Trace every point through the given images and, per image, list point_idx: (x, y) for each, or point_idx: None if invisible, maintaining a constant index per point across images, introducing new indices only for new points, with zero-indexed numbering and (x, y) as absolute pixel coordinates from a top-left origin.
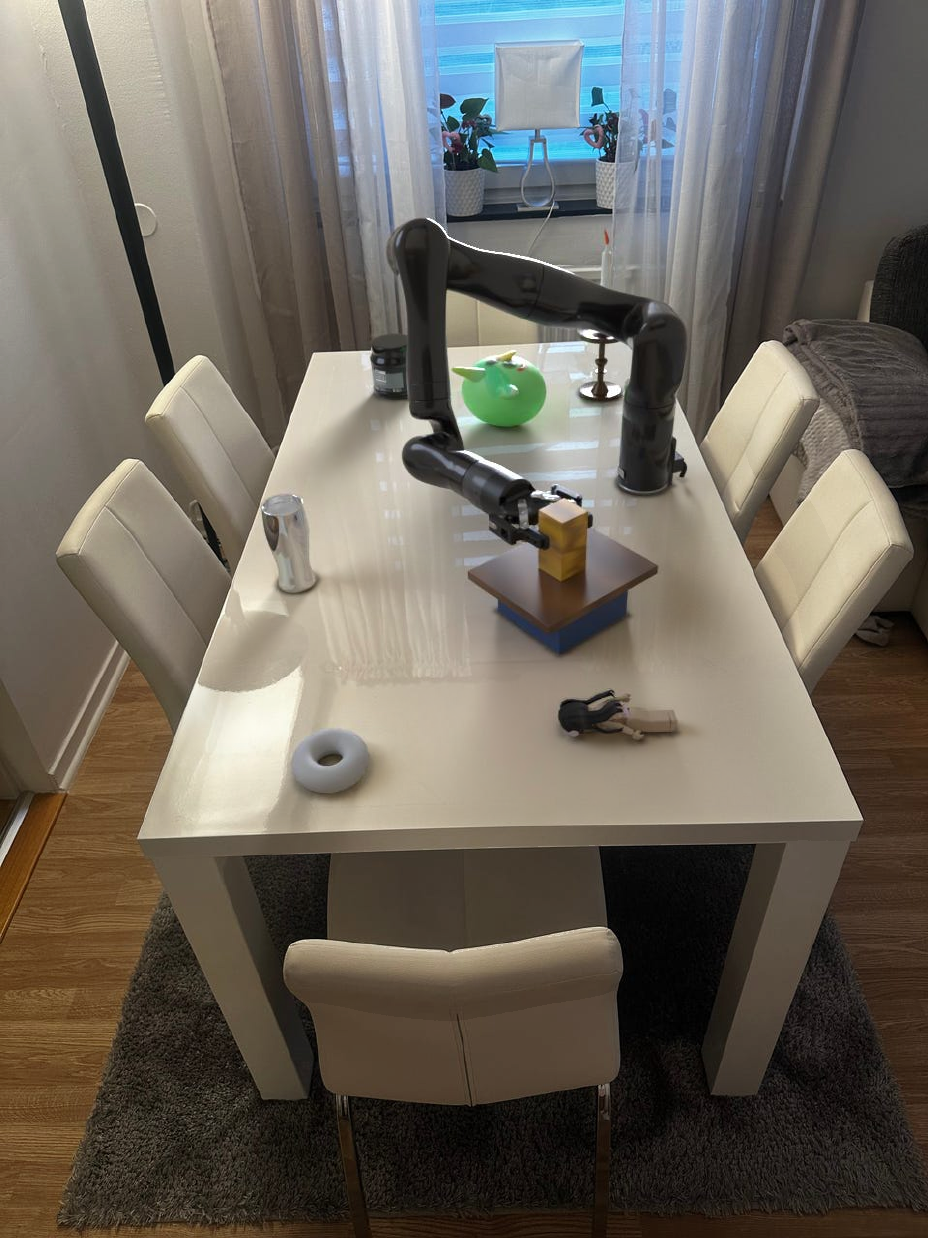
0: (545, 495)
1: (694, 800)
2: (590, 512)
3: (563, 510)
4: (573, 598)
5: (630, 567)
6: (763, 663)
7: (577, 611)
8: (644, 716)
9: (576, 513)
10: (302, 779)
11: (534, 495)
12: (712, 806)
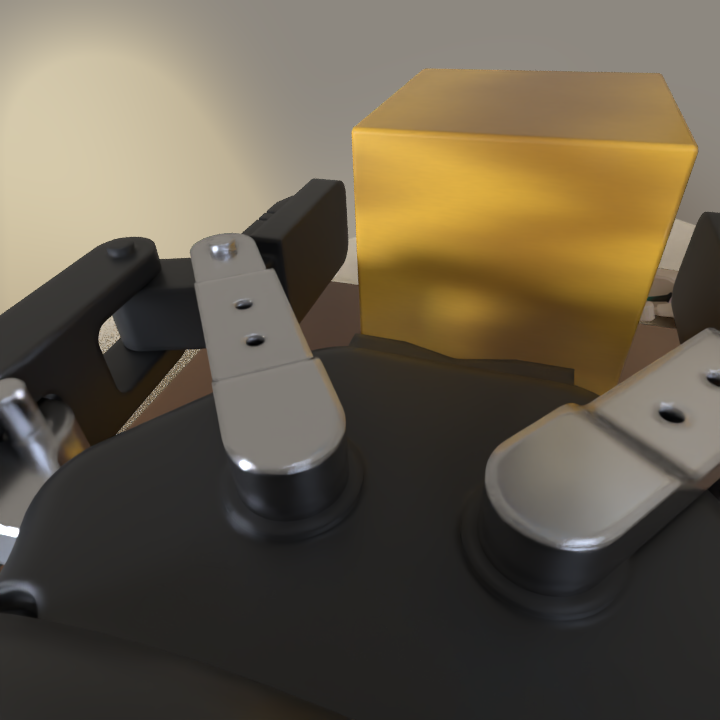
0: (218, 360)
1: (690, 237)
2: (276, 203)
3: (523, 97)
4: None
5: (319, 309)
6: (356, 254)
7: (650, 326)
8: (663, 271)
9: (493, 75)
10: None
11: (300, 416)
12: (676, 226)
